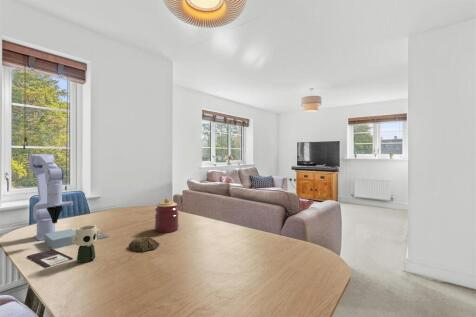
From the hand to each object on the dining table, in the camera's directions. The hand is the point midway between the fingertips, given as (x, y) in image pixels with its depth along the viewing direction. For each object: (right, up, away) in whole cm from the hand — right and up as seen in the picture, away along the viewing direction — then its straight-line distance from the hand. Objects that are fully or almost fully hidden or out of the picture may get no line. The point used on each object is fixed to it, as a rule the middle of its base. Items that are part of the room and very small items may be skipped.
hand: (54, 222), depth 117 cm
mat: (+10, -10, +11) cm, 18 cm away
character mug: (+26, -10, -18) cm, 33 cm away
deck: (+2, -10, +2) cm, 10 cm away
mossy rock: (+44, -11, -3) cm, 45 cm away
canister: (+46, -10, +24) cm, 53 cm away
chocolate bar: (+10, -11, -16) cm, 22 cm away
